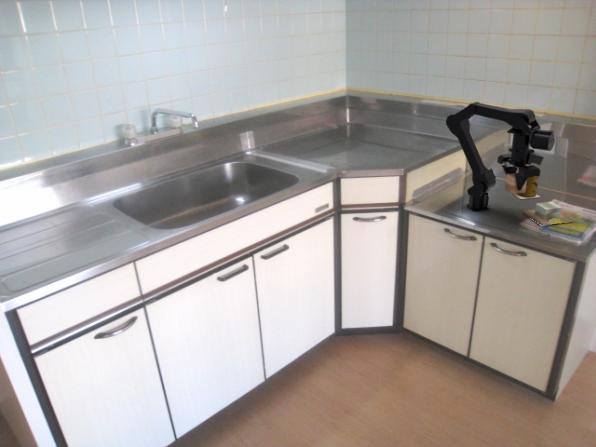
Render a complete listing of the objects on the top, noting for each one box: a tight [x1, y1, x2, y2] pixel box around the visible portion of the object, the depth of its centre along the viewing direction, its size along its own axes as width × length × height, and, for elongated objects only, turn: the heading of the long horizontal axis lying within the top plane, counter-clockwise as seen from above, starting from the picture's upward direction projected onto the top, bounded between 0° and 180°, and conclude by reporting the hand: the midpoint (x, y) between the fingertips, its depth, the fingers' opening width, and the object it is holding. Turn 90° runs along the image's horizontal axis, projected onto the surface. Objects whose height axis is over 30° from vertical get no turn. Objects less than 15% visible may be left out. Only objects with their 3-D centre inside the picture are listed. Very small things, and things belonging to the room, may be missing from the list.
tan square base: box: [522, 201, 573, 225], centre depth 183 cm, size 12×12×5 cm
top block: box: [504, 173, 527, 195], centre depth 182 cm, size 5×5×6 cm
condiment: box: [513, 164, 541, 200], centre depth 202 cm, size 7×8×12 cm
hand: (515, 187), depth 183 cm, fingers closed on top block, 5 cm apart
